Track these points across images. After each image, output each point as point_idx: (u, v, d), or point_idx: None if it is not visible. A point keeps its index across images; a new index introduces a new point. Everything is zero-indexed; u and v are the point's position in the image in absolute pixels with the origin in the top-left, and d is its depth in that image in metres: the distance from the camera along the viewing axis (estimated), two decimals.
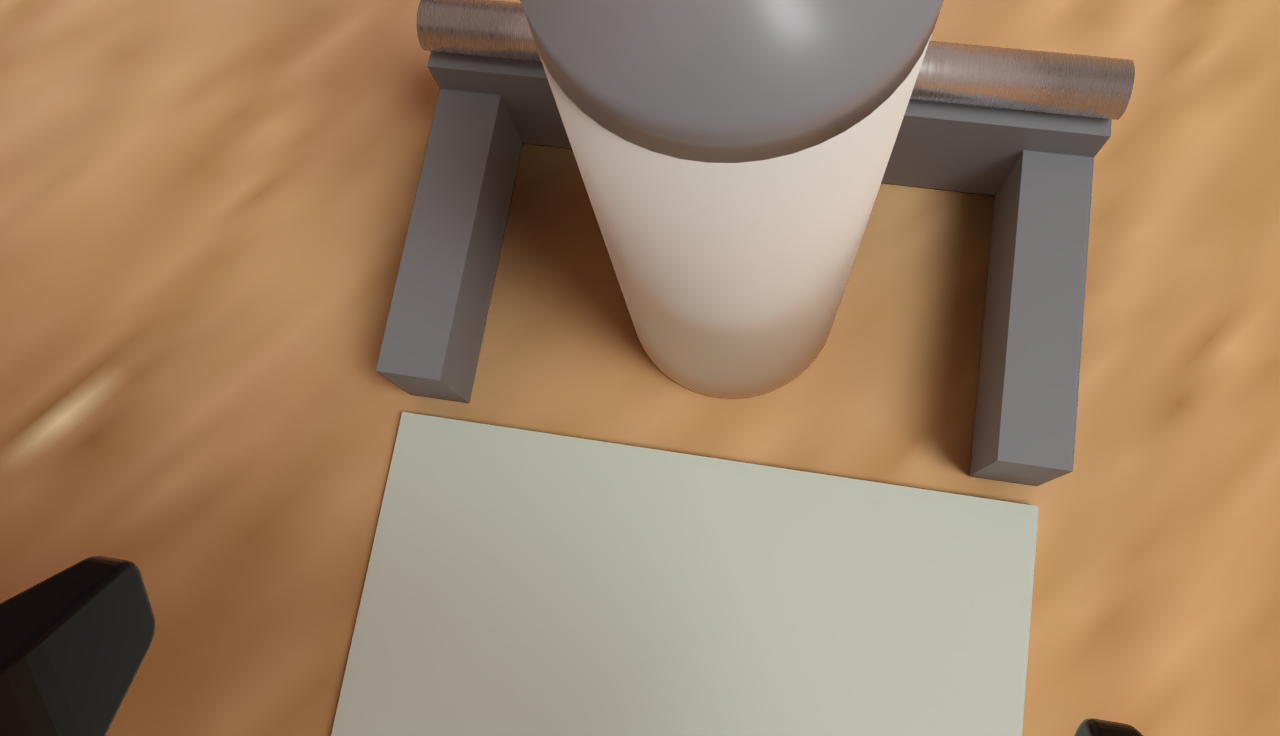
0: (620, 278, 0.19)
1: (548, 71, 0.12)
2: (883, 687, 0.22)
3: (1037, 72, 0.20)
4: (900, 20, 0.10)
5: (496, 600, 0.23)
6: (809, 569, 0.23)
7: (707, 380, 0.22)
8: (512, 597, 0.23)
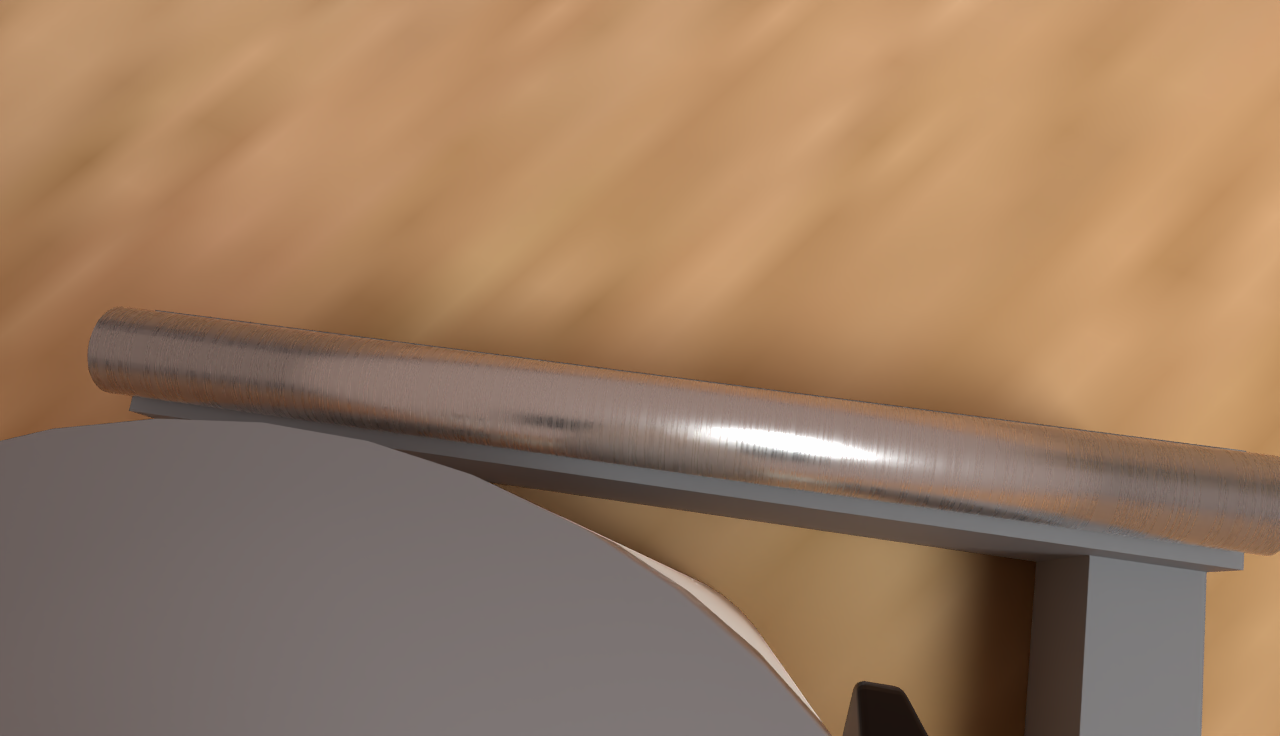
0: None
1: None
2: None
3: (1124, 489, 0.12)
4: None
5: None
6: None
7: None
8: None
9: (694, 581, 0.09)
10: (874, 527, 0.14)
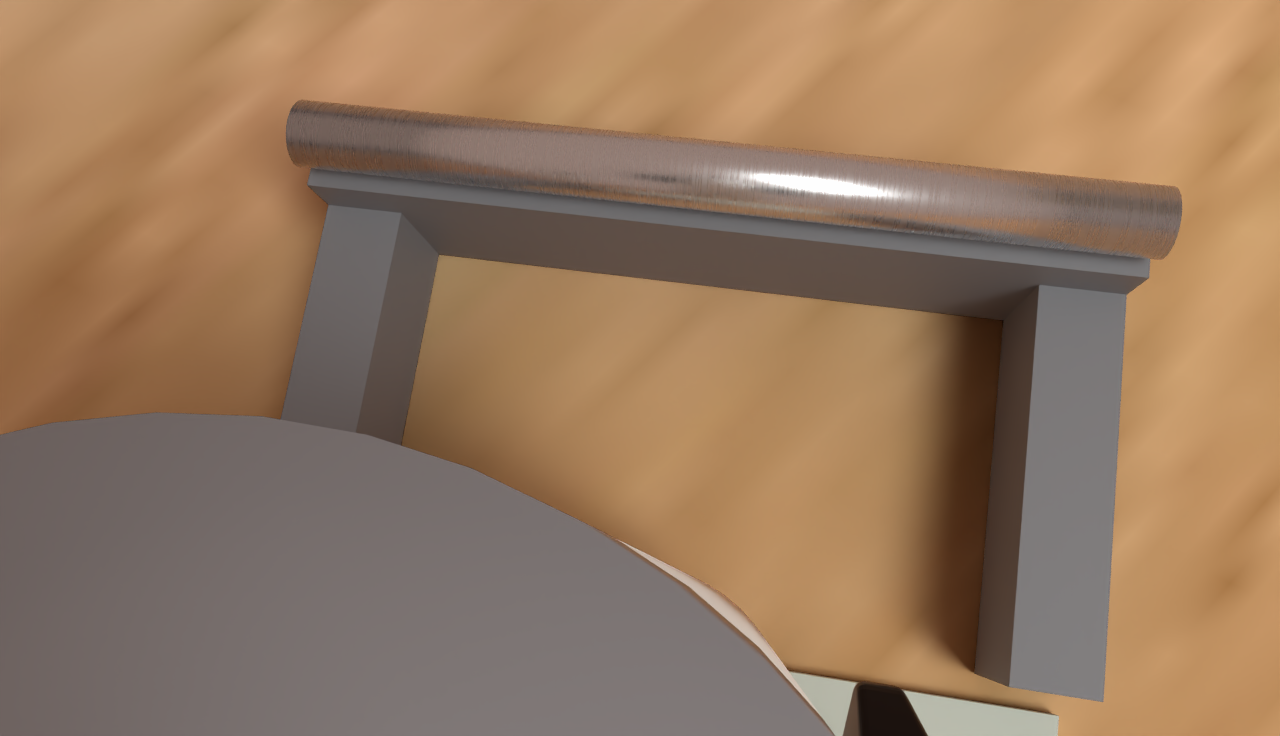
0: None
1: None
2: None
3: (1058, 206, 0.16)
4: None
5: None
6: None
7: None
8: None
9: (694, 579, 0.09)
10: (876, 275, 0.19)
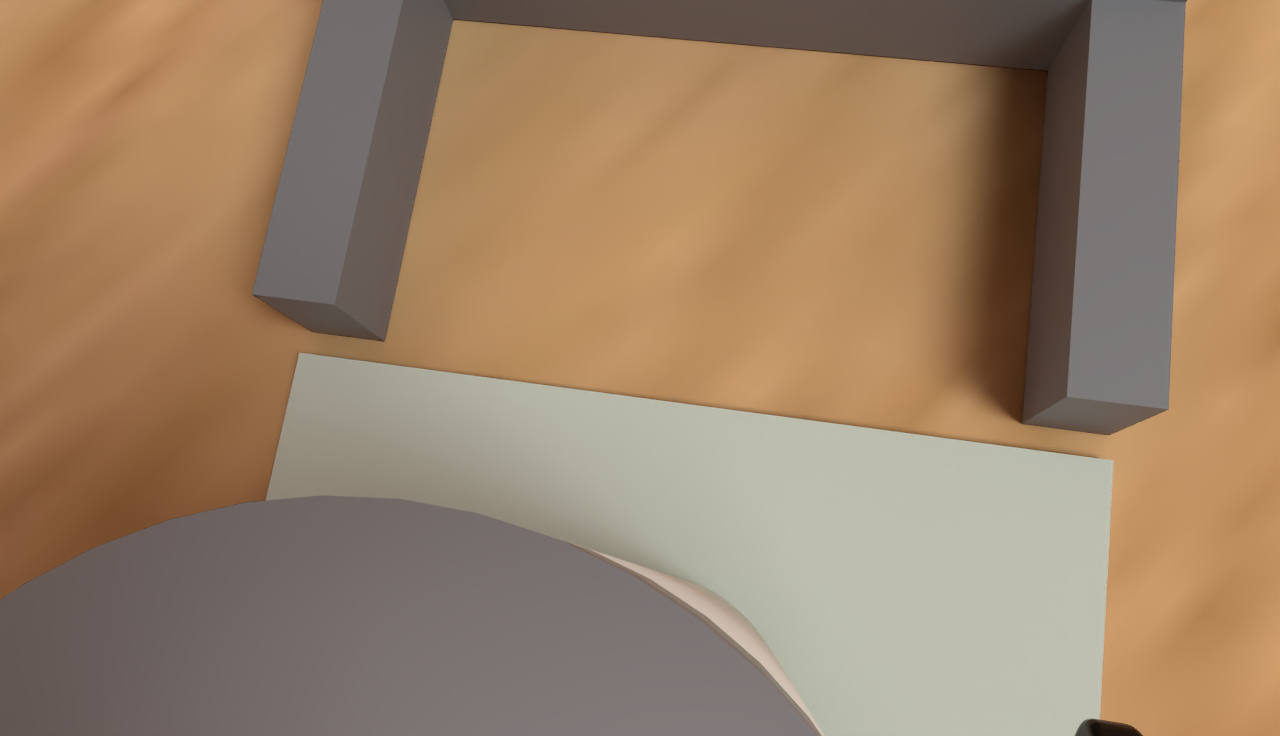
0: None
1: None
2: (915, 697, 0.17)
3: None
4: None
5: None
6: (817, 545, 0.17)
7: None
8: None
9: (704, 594, 0.10)
10: (918, 0, 0.18)
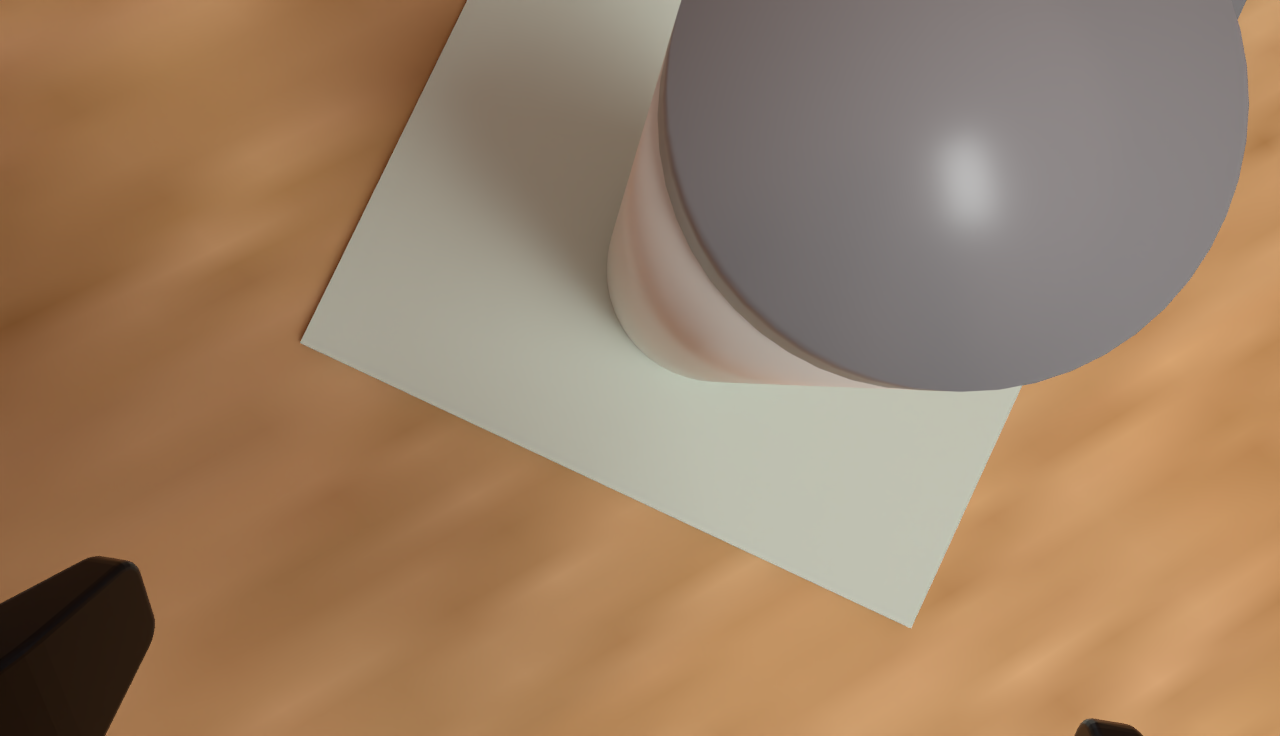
0: (624, 273, 0.17)
1: (664, 180, 0.09)
2: None
3: None
4: (1114, 315, 0.08)
5: (570, 120, 0.22)
6: None
7: (670, 366, 0.21)
8: (587, 122, 0.22)
9: None
10: None
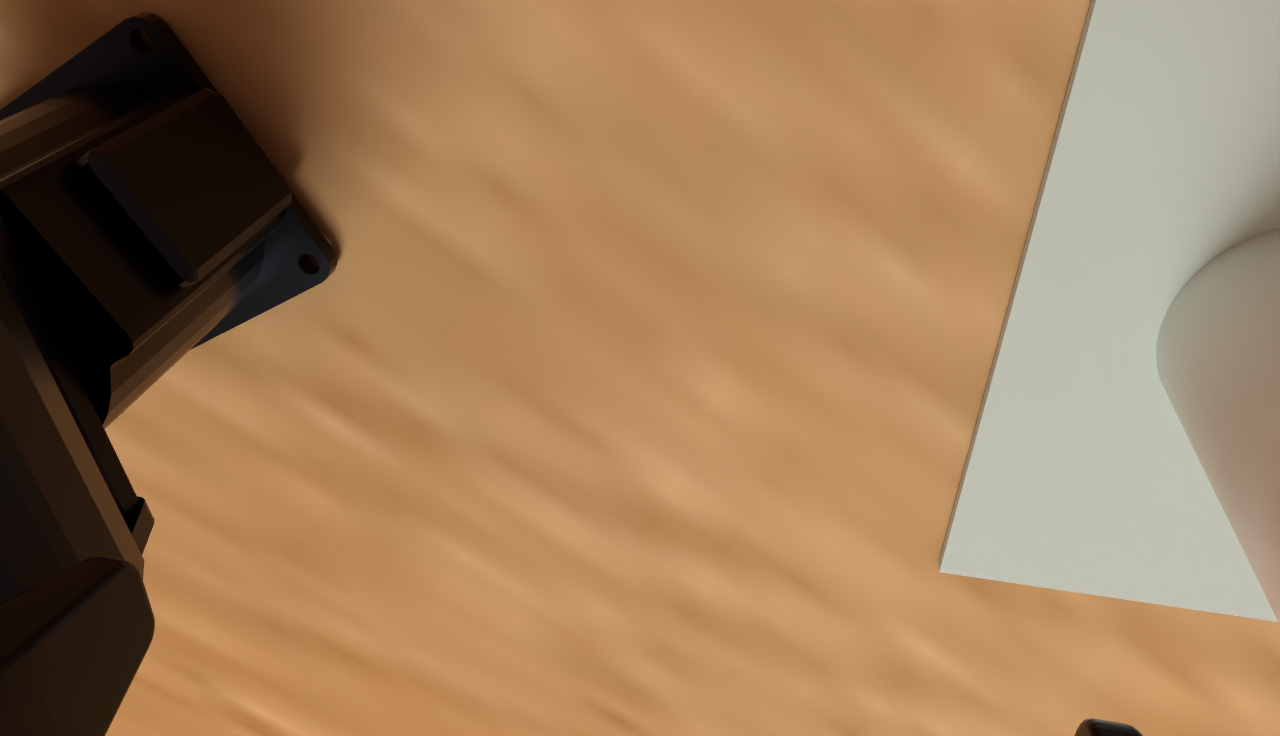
0: None
1: None
2: None
3: None
4: None
5: None
6: None
7: (1190, 357, 0.19)
8: None
9: None
10: None
